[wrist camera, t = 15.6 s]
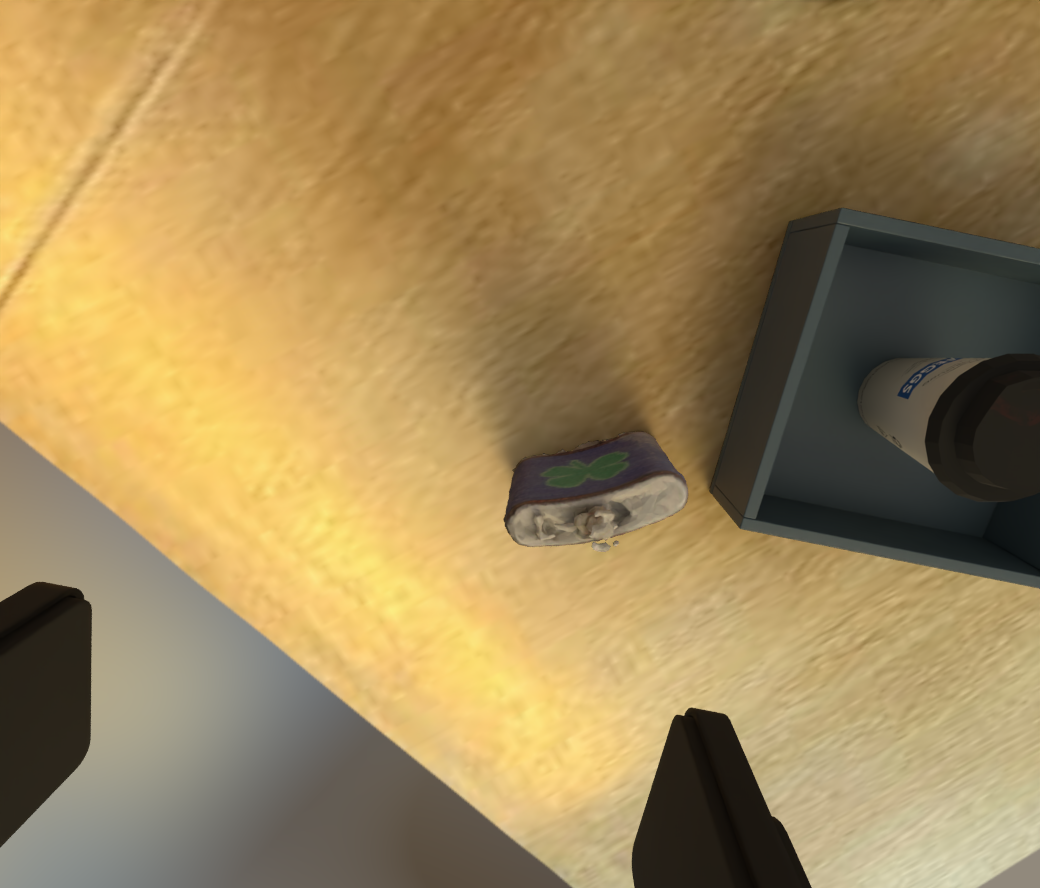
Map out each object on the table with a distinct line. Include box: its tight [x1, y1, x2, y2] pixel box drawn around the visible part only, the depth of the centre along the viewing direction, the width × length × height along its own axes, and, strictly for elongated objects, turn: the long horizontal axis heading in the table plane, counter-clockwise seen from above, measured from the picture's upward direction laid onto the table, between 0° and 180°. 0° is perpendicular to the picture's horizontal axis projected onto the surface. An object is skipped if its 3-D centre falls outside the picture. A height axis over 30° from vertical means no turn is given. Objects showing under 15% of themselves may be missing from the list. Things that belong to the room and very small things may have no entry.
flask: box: [504, 431, 688, 552], centre depth 32 cm, size 9×3×11 cm, turn 105°
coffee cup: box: [857, 354, 1040, 502], centre depth 30 cm, size 7×7×10 cm
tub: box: [709, 208, 1040, 588], centre depth 33 cm, size 16×18×6 cm
